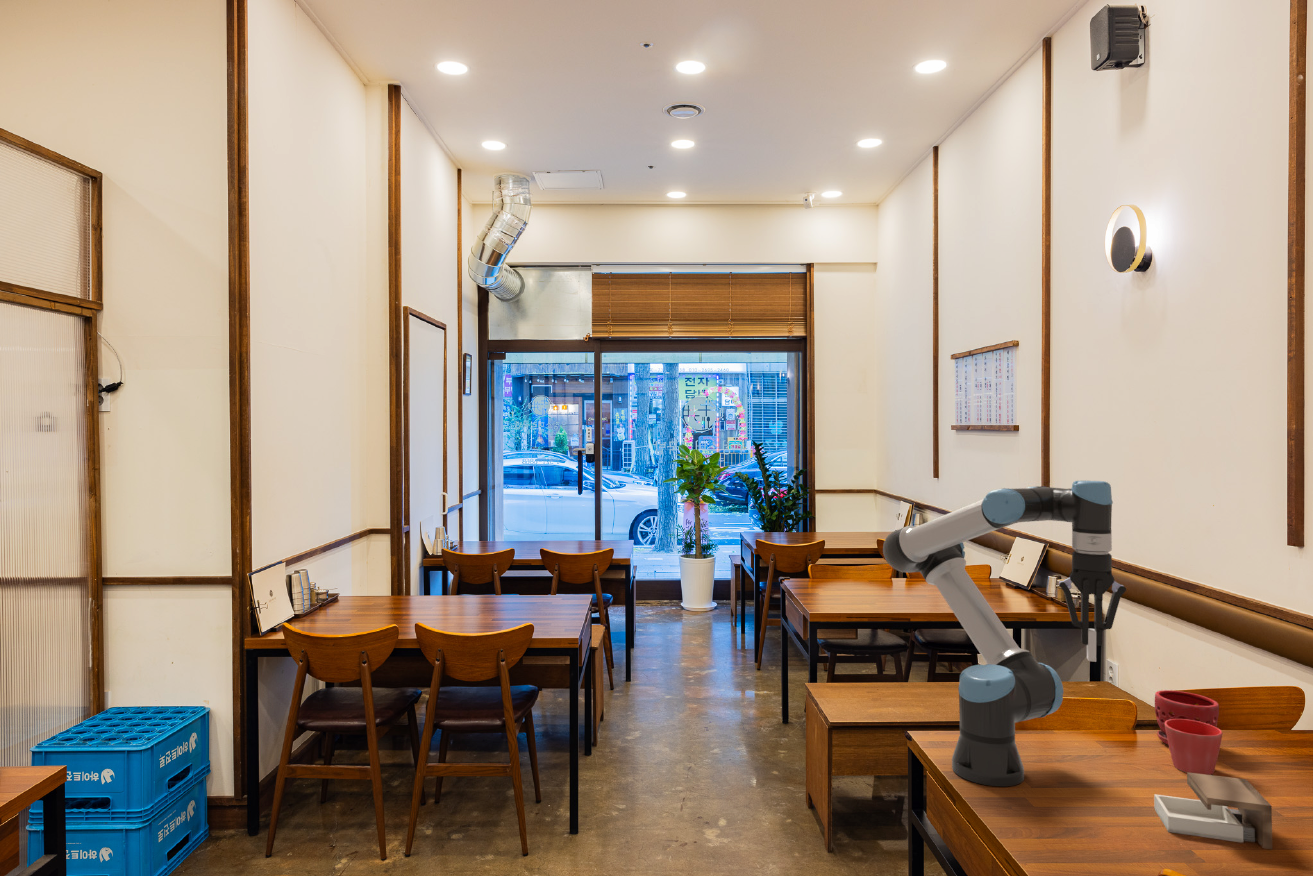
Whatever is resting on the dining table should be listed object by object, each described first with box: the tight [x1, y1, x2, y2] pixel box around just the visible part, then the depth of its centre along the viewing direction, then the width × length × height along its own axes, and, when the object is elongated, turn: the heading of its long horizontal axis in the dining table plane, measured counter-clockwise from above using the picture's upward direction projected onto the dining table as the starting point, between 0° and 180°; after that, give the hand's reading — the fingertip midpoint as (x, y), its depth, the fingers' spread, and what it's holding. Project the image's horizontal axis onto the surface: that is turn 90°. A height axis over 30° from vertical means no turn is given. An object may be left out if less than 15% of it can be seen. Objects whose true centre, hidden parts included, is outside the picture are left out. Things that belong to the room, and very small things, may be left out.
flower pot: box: [1165, 719, 1223, 775], centre depth 175 cm, size 11×11×10 cm
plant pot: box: [1154, 689, 1220, 745], centre depth 189 cm, size 13×13×12 cm
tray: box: [1153, 793, 1244, 844], centre depth 149 cm, size 12×10×3 cm
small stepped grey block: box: [1228, 808, 1256, 843], centre depth 147 cm, size 2×8×2 cm, turn 160°
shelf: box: [1186, 772, 1273, 850], centre depth 147 cm, size 10×12×8 cm
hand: (1091, 659), depth 165 cm, fingers closed
